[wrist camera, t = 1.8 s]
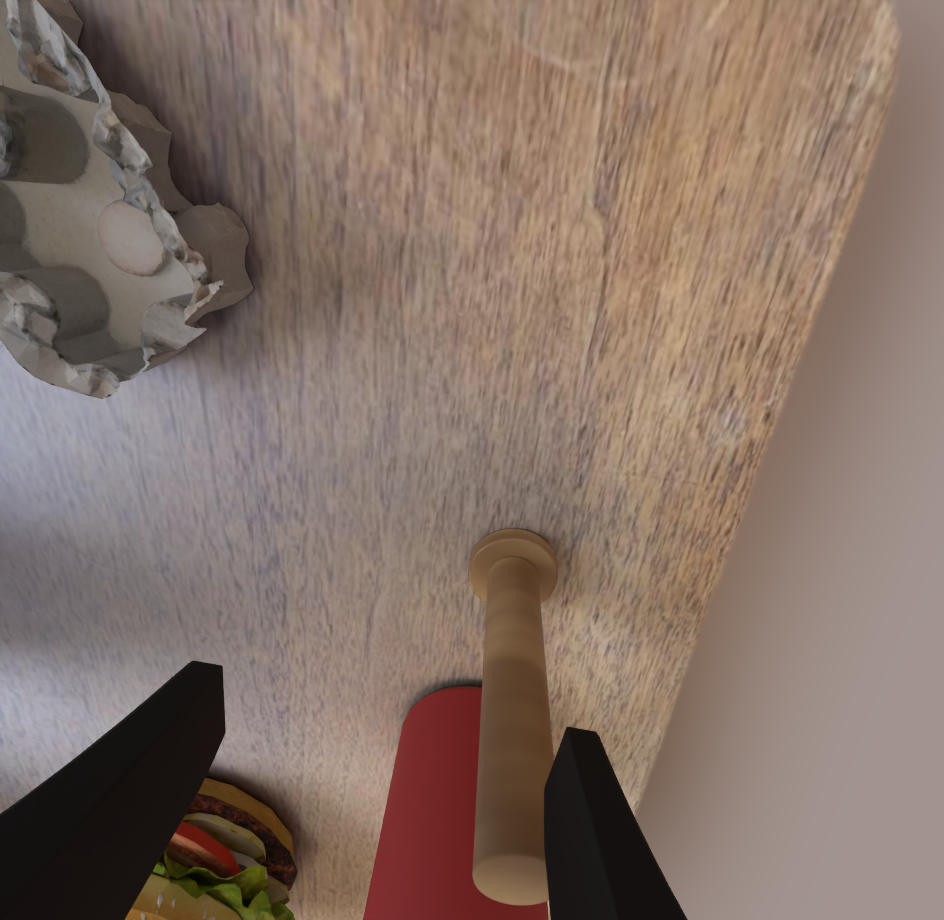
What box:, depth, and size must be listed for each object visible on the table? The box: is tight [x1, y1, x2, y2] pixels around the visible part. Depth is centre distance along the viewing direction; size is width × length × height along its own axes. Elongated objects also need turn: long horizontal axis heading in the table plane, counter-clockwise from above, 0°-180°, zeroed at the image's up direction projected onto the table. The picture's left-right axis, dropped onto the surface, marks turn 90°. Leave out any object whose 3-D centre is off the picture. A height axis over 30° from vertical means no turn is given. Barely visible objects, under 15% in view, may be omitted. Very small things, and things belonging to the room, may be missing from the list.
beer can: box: [363, 686, 548, 920], centre depth 20 cm, size 7×7×12 cm
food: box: [125, 778, 297, 920], centre depth 28 cm, size 14×14×8 cm
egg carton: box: [0, 0, 253, 399], centre depth 15 cm, size 11×8×4 cm
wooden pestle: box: [468, 529, 558, 905], centre depth 16 cm, size 4×4×11 cm
